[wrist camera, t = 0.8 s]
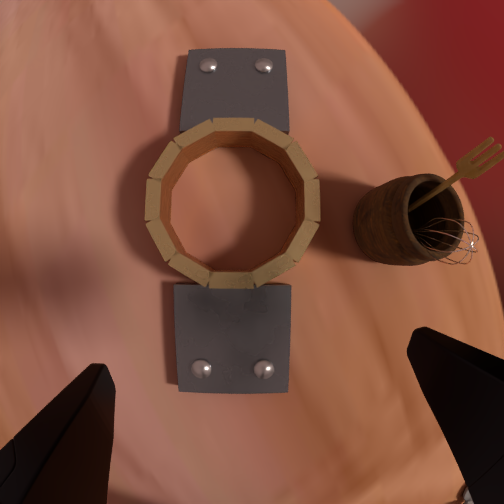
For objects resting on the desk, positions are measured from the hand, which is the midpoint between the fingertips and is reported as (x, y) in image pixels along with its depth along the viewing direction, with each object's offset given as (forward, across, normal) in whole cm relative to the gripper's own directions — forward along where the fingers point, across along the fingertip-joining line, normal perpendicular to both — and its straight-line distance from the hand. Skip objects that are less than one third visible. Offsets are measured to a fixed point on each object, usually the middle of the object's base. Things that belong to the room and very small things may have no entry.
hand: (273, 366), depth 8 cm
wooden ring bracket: (+15, 0, -1) cm, 15 cm away
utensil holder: (+14, -12, +1) cm, 18 cm away
